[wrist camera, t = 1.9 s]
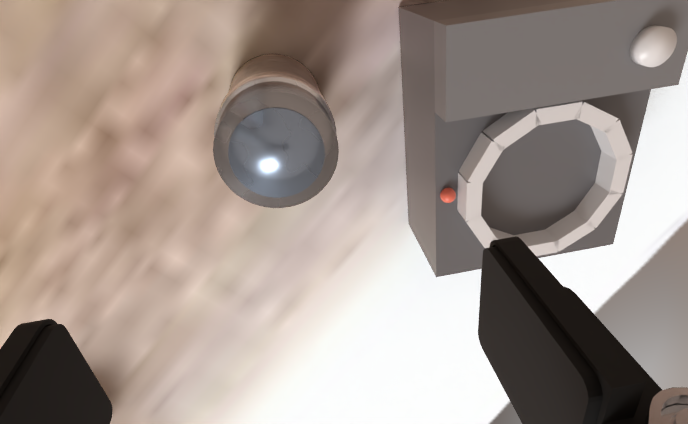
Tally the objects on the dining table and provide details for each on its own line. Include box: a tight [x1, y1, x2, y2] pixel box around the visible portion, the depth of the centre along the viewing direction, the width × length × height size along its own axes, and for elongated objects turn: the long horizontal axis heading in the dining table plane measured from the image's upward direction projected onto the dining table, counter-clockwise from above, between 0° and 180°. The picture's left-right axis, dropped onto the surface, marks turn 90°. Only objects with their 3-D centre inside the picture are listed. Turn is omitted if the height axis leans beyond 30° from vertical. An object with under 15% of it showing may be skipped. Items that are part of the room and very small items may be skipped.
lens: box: [213, 54, 338, 208], centre depth 22 cm, size 6×6×8 cm
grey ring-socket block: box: [399, 0, 688, 277], centre depth 24 cm, size 14×11×8 cm
